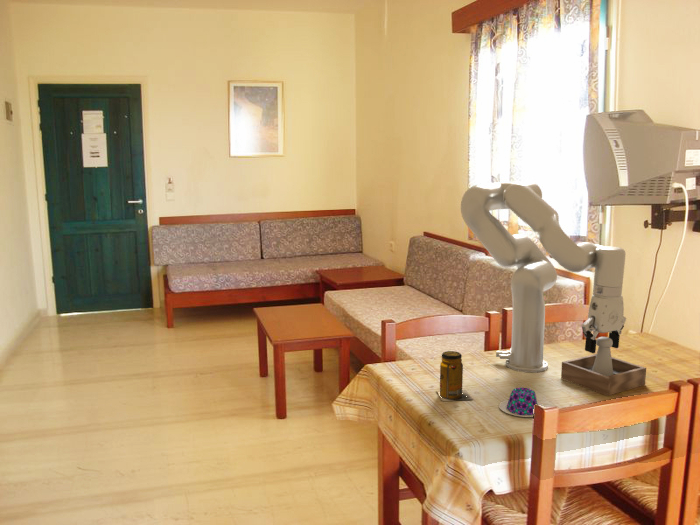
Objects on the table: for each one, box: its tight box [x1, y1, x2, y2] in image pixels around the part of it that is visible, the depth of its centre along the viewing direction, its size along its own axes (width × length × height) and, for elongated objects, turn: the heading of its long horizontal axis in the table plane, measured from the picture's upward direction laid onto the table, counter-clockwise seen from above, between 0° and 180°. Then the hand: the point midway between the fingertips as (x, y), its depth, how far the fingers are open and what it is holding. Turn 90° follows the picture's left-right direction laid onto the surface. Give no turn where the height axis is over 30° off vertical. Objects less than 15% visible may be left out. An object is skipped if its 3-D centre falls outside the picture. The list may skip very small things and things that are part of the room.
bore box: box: [560, 353, 647, 397], centre depth 191 cm, size 16×16×5 cm
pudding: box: [498, 387, 546, 418], centre depth 172 cm, size 12×12×5 cm
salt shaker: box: [592, 336, 614, 376], centre depth 190 cm, size 6×6×13 cm
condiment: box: [439, 350, 474, 402], centre depth 180 cm, size 7×8×12 cm
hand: (601, 349), depth 190 cm, fingers open, 9 cm apart
